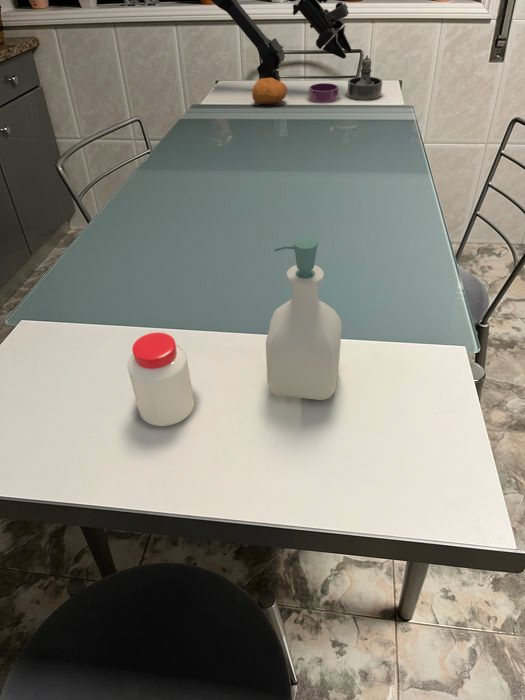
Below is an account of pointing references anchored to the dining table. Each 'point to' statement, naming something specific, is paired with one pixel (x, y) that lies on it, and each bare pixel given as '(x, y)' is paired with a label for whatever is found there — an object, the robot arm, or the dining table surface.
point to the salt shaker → (365, 72)
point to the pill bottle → (160, 380)
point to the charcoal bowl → (364, 89)
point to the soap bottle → (303, 333)
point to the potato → (269, 91)
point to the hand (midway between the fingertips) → (347, 54)
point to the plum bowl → (323, 93)
